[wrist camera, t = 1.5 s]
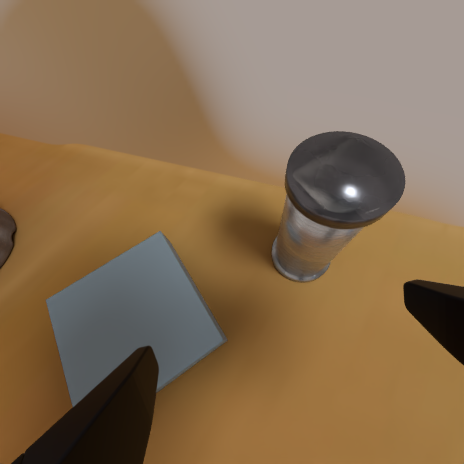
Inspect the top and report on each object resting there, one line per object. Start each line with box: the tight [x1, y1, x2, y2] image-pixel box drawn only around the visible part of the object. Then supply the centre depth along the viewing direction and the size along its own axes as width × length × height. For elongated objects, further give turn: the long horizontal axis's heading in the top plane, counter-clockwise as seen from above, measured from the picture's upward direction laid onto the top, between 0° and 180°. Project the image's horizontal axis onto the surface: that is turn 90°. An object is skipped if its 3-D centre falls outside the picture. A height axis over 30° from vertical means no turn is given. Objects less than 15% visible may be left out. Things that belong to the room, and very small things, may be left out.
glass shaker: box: [272, 131, 405, 282], centre depth 18 cm, size 6×6×13 cm
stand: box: [46, 231, 227, 407], centre depth 21 cm, size 12×12×3 cm
